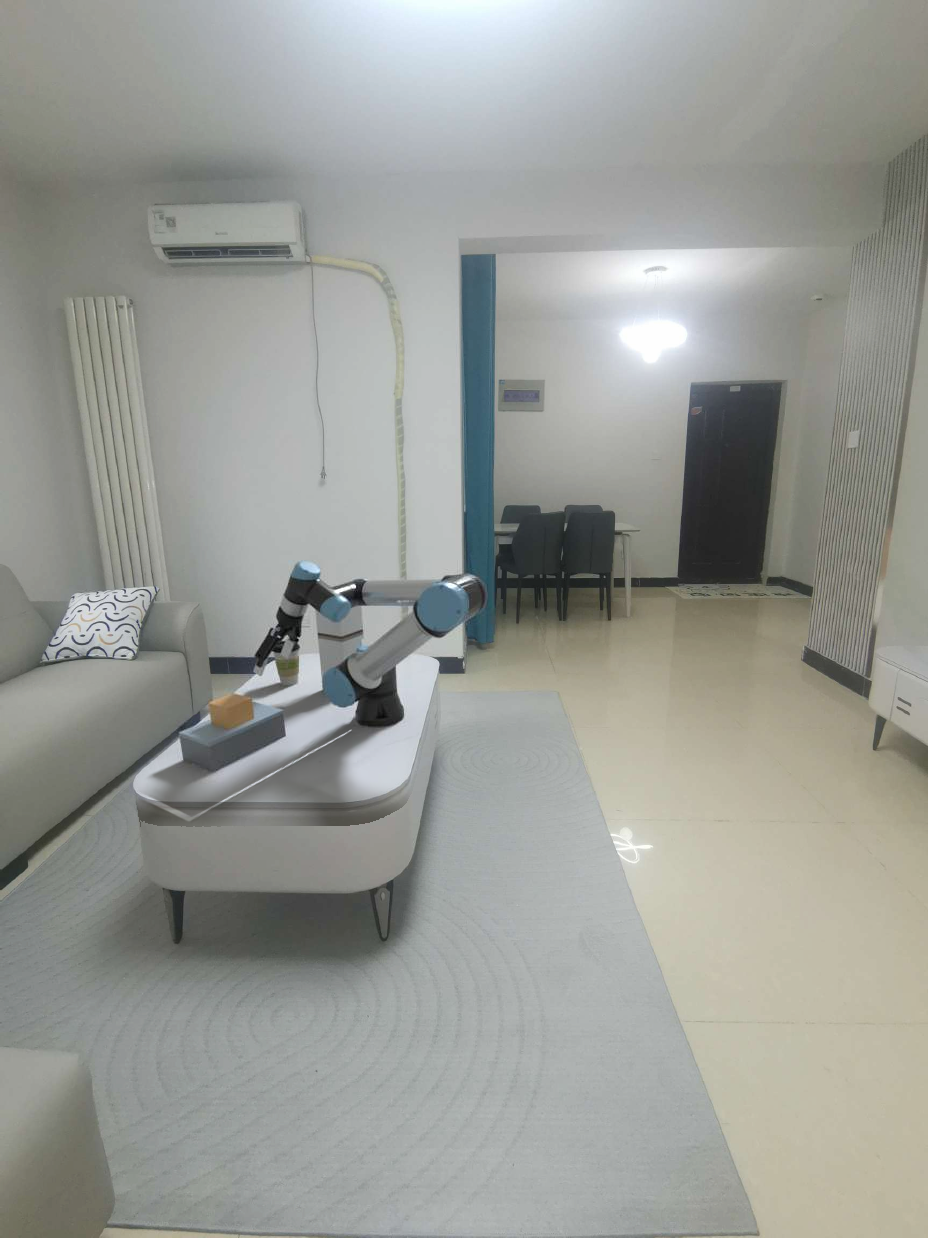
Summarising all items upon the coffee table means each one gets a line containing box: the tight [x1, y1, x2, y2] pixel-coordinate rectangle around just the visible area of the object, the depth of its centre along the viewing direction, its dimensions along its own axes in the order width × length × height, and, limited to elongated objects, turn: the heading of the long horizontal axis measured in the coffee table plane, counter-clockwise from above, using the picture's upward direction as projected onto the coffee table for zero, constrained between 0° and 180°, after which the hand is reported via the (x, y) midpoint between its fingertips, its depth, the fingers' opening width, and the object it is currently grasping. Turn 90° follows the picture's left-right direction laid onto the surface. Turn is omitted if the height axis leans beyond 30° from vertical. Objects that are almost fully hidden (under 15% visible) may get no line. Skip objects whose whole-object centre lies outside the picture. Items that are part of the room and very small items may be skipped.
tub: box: [178, 713, 287, 773], centre depth 164 cm, size 13×24×8 cm, turn 148°
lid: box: [178, 692, 284, 747], centre depth 162 cm, size 13×24×8 cm, turn 148°
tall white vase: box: [314, 606, 365, 678], centre depth 206 cm, size 11×11×35 cm
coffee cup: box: [272, 640, 301, 687], centre depth 215 cm, size 10×10×15 cm
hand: (271, 664), depth 181 cm, fingers open, 13 cm apart
